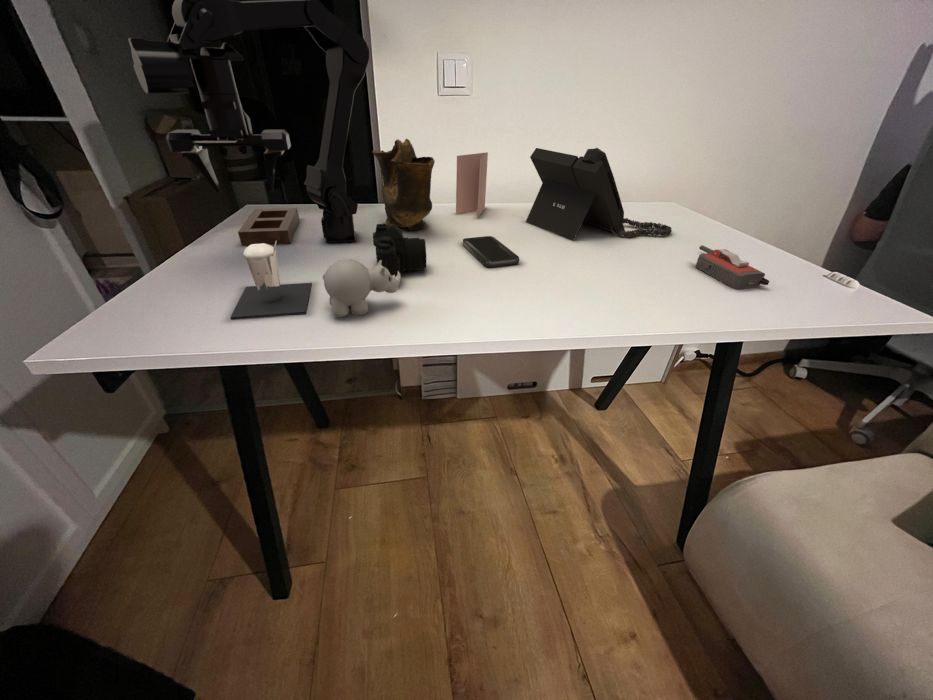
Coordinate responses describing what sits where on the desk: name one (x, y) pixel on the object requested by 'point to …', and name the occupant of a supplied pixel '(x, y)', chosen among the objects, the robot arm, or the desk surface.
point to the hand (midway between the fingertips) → (245, 191)
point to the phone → (490, 251)
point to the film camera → (398, 250)
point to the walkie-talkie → (730, 269)
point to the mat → (289, 304)
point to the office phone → (580, 195)
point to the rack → (269, 226)
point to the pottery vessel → (405, 185)
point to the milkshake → (264, 270)
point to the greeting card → (471, 182)
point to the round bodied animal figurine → (356, 285)
